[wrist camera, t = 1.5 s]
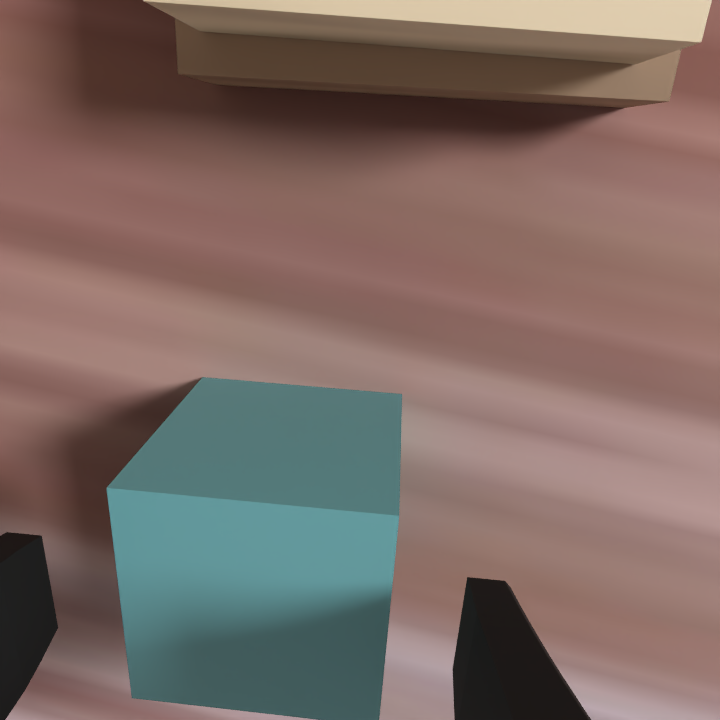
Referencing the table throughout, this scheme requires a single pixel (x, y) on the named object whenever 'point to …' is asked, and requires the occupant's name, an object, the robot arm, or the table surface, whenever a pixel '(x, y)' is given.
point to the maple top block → (466, 24)
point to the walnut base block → (418, 70)
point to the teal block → (261, 549)
